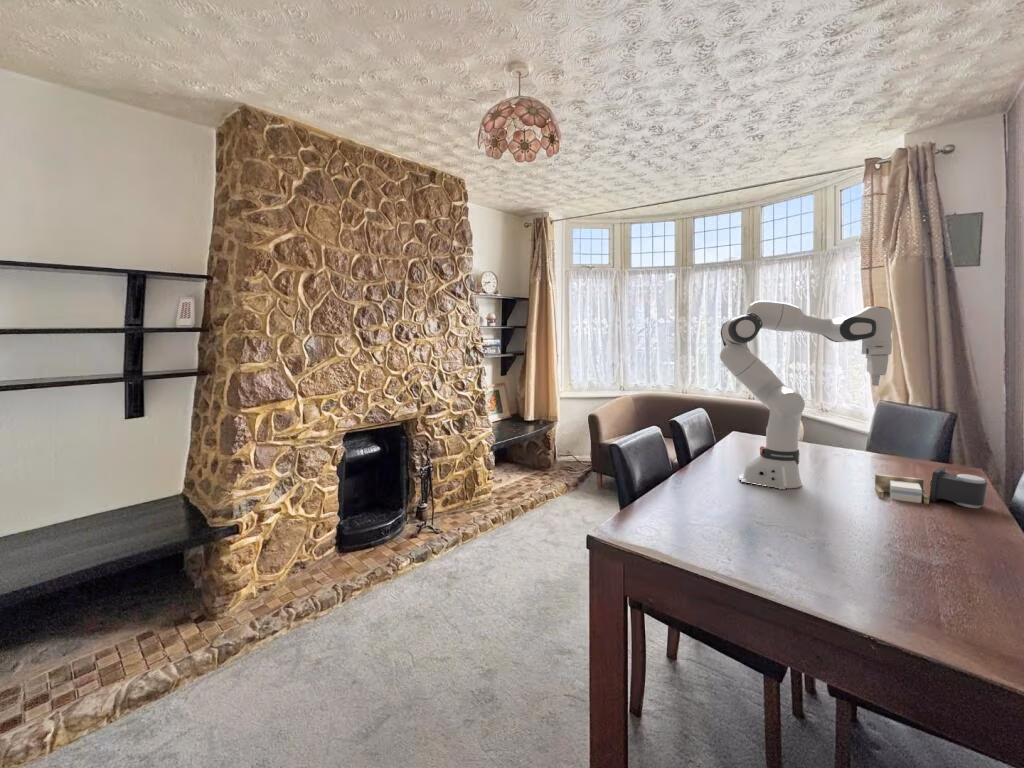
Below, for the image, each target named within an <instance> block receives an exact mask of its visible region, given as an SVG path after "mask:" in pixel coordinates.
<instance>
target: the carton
mask: <svg viewBox="0 0 1024 768" xmlns="http://www.w3.org/2000/svg"><path fill="white" fill-rule="evenodd" d="M888 493H889V497H890V500H894V501H895V500H897V501H903V502H910V503H916V504H917V503H918V504H921V503H922V500H921V499H922V489H921V487H920V485H919V483H912V482H903V481H894V480H890V483H889V492H888Z"/></svg>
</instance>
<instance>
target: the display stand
mask: <svg viewBox="0 0 1024 768" xmlns="http://www.w3.org/2000/svg"><path fill="white" fill-rule="evenodd" d="M874 475H875V476H874V491H875V493H876V495H877V497H878V499H884V492H885V493H889V483H890V480H894V481H903V482H912V483H919V485H920V487H921V489H922V499H921V502H922V503H923V504H924V505H926V504H927V505H929V504H930V501H929V498H930V495H928V493H926V491H925V490H924V478H919V477H909V476H908V477H907V476H899V475H888V474H877V473H875V474H874Z"/></svg>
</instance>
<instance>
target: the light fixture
mask: <svg viewBox="0 0 1024 768" xmlns="http://www.w3.org/2000/svg"><path fill="white" fill-rule="evenodd" d="M929 486H930V491H929V502H933V503H936V502H937V501H938V500H939V499H942V500H947V501H950V502H951V501H952V502H953V503H954V504H956V505H958V506H961V507H963V508H969V509H981V508H982V506H984V504H985V500H986V499H985V498H986V491H987V487H988V483H987V482H986V479H985V478H984V477H981V476H978V475H973V474H967V473H966V474H965V473H959V474H955V473H951V472H946V466H939V467H937V468H936V469H934V470H933V471H932V476H931V479H930V480H929ZM980 507H981V508H980Z"/></svg>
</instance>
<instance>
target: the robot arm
mask: <svg viewBox="0 0 1024 768" xmlns="http://www.w3.org/2000/svg"><path fill="white" fill-rule="evenodd" d="M893 323H894V322H893V314H892V311H891V309H890V308H888V307H885V306H878V305H877V306H871V305H869V306H867V307H865V308H864V309H861V311H859V312H856V313H854V314H852V315H849V316H840V317H839V316H837V317H832V318H821V317H816V316H811V315H807V314H805V313H804V312H803V310H802V308H800V307H799V306H796V305H793V304H791V303H786V302H780V301H774V300H773V301H771V300H757V301H754V302H752V303H751V304H750V305H749V306H748V308H747V310H746V313H745V314H743V315H739V316H735V317H731V318H730V319H728V320H727V321H725V322H724V324H723V325H722V326H721V329H720V337H721V341H722V343H723V348H722V350H721V351H720V354H719V359H720V361H721V362H722V363H723V365H724V366H725V368H726V369H727V370H728V371H729V372H730V373H731V374H732V375H733V376H734V378H736V379H737V380H738V381H739V382H740V383H741V384H742V385H743V386H744V387H745V388H746V389H748V390H749V391H750V393H752V395H754V396H755V398H757V399H758V401H759V402H761V403H762V405H763V406H765V407H766V408H767V410H769V416H768V420H767V421H768V422H767V426H766V428H765V430H766V431H765V432H766V433H765V440H766V441H765V446H764V445H760V446H759V453H760V454H759V456H757V457H756V458H754V459H752V460H750V461H749V462H747V463H746V466H745V468H744V472H742V473H740V474H739V475H738V478H739V479H740V478H743V479H740V480H742V481H745V482H750V483H756V484H761V485H766V486H770V487H775V488H779V489H778V490H781V489H783V490H787V489H797V488H801V487H802V486H803V482H802V480H801V479H802V478H801V475H800V469H799V464H800V449H799V430H800V424H801V420H802V415H803V411H804V409H805V400H804V398H803V397H802V395H801V394H800V393H799V392H798V391H797V390H794V389H792V388H790V387H788V386H787V385H785V383H784V382H782V380H780V378H779V377H778V376H777V375H776V374H775V373H774V372H773V370H771V368H770V367H769V366H767V365H766V364H765V363H764V362H763V361H762V360H761V359H760V358H759V357H758V356H756V355H755V354H754V353H753V352H752V351H751V350H750V348H749V346H748V343H750V342H752V341H753V340H754V339H755V338H756V337H757V335H758V333H759V332H760V330H761V329H766V330H770V331H777V332H795V331H799V332H800V331H802V332H806V333H811V334H817V335H821V336H822V337H824V338H826V339H827V340H829V341H831V342H834V343H842V342H843V343H844V342H845V343H846V342H849V343H850V342H857V341H861V354H862V355H865V359H866V371H867V372H868V373H870V377H871V385H872V386H873V387H879V385H880V379H881V376H886V374H887V371H888V364H889V356H891V354H892V352H893V350H892V348H893V339H892V332H893ZM739 479H738V480H739ZM775 488H774V489H775ZM786 488H787V489H786Z"/></svg>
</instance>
